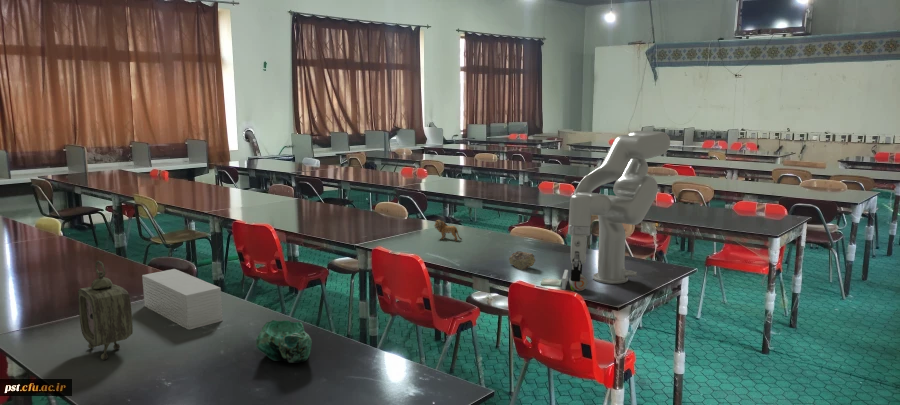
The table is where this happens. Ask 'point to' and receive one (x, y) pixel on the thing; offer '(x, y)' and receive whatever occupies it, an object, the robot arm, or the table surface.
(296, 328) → the mineral
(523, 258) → the rock
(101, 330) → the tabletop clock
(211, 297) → the stack of papers
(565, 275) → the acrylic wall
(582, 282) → the roller toy
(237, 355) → the table surface
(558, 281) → the mat
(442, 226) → the lion figurine
